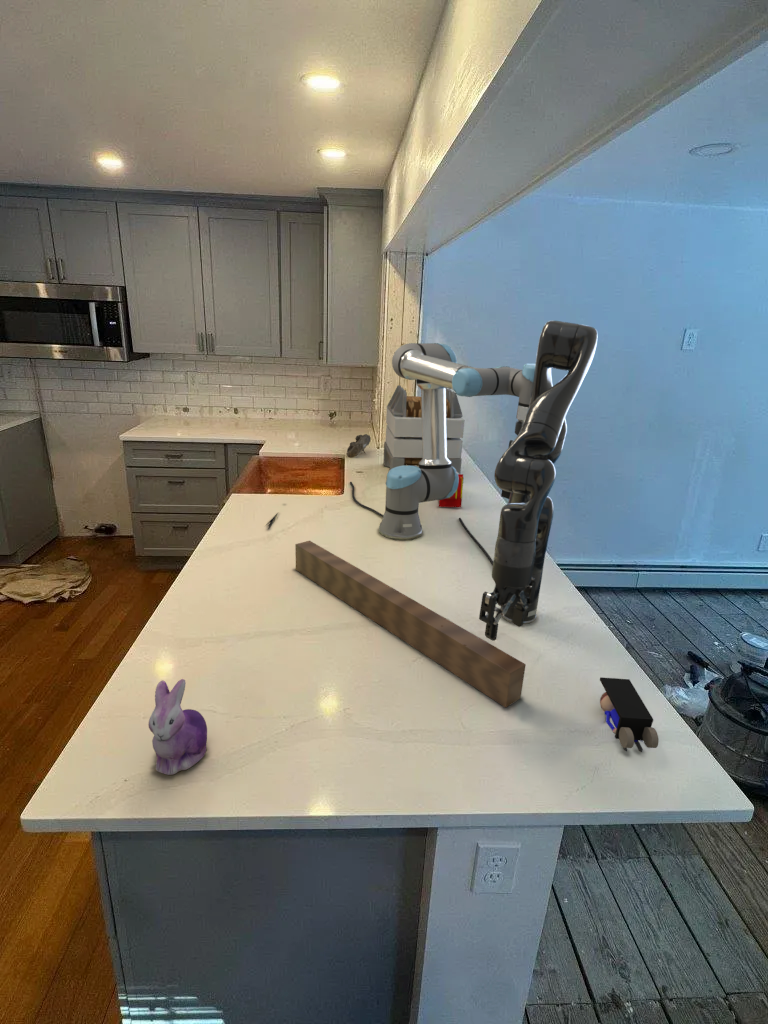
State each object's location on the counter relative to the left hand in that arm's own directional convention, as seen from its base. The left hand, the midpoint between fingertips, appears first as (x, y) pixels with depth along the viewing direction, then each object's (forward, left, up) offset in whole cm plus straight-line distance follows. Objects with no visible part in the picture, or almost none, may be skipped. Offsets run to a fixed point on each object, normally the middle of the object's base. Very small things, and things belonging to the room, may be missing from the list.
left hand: (519, 493), depth 166 cm
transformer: (-95, +54, -26) cm, 112 cm away
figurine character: (+57, -40, -26) cm, 74 cm away
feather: (-82, -34, -26) cm, 92 cm away
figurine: (+12, -108, -25) cm, 112 cm away
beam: (0, -50, -26) cm, 56 cm away
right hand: (+35, -50, -11) cm, 62 cm away
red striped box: (-63, +37, -26) cm, 77 cm away
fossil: (-142, +52, -25) cm, 153 cm away
